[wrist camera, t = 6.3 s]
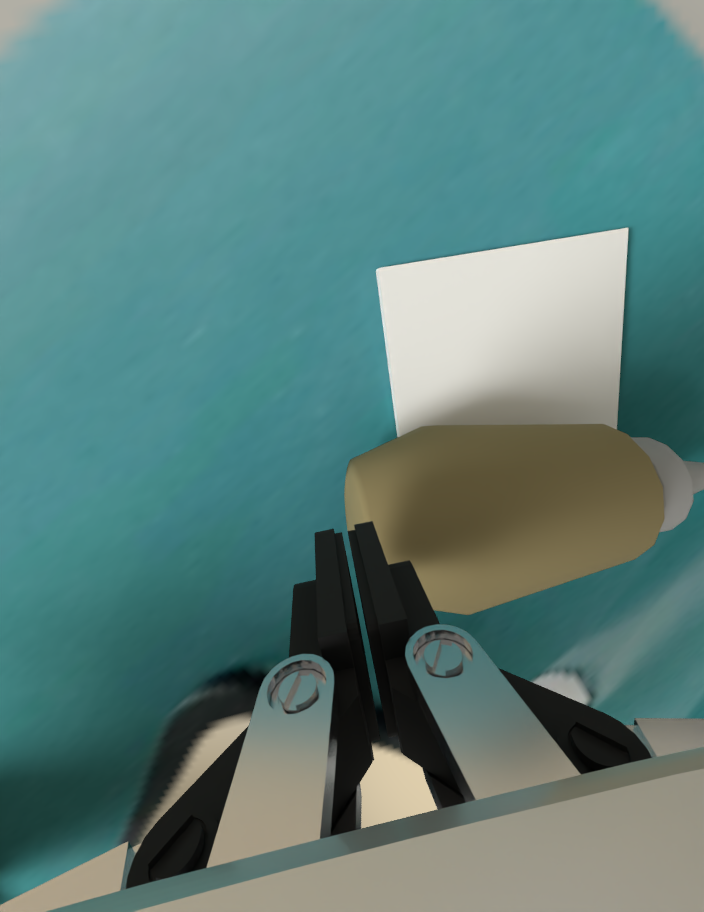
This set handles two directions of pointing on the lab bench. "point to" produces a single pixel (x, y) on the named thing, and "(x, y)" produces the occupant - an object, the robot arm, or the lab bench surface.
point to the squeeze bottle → (516, 505)
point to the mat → (507, 334)
